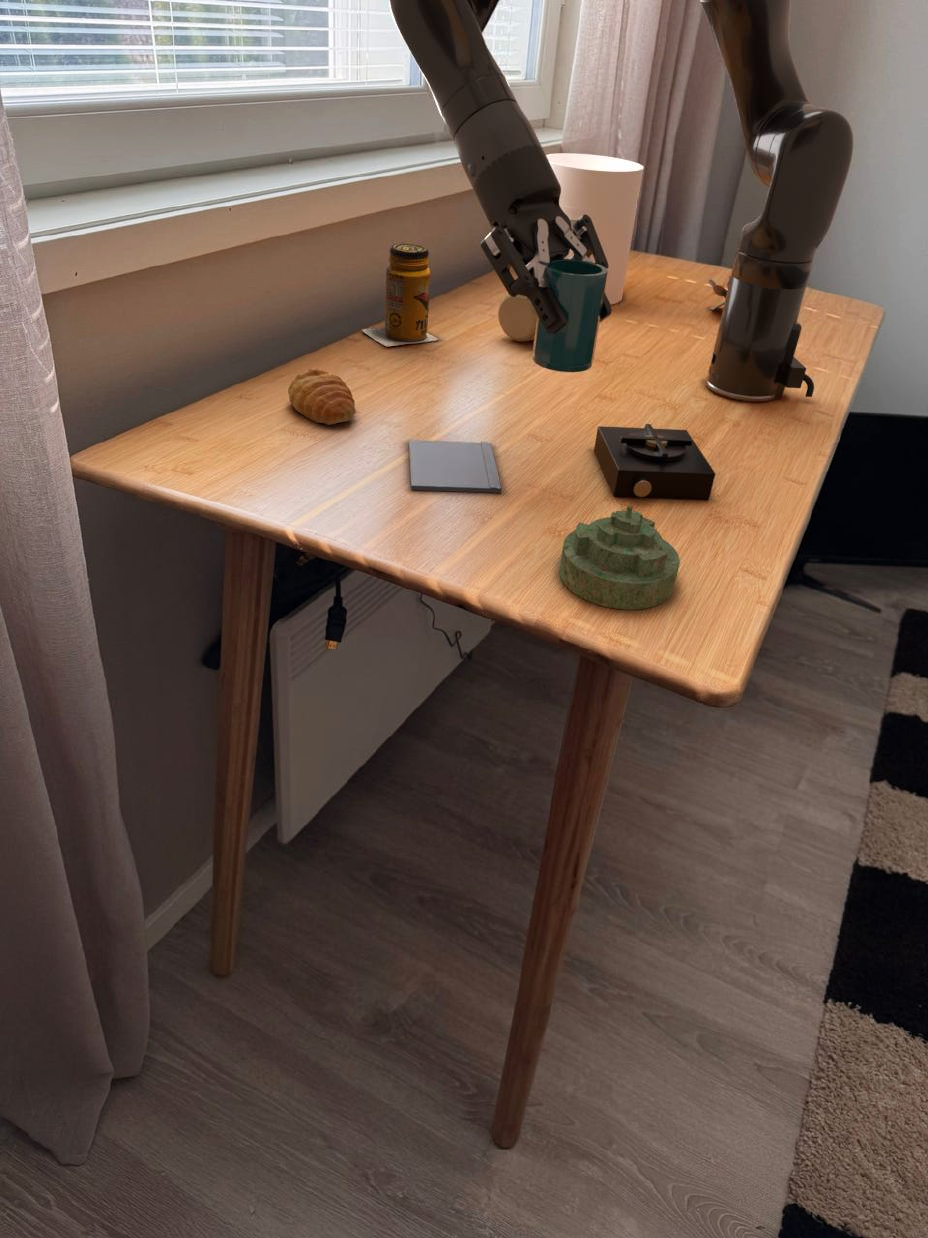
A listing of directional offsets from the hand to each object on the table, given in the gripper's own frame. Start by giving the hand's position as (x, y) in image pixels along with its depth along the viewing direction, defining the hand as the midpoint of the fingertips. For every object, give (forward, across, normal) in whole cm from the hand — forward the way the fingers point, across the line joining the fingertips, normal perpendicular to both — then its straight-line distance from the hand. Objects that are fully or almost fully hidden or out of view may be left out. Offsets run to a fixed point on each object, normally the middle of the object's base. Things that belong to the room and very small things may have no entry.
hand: (581, 323), depth 89 cm
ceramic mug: (-11, +31, +33) cm, 46 cm away
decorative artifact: (+24, -12, -1) cm, 27 cm away
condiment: (-19, +14, +41) cm, 47 cm away
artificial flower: (-2, +63, +24) cm, 67 cm away
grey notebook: (+6, -9, +16) cm, 19 cm away
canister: (-20, +55, +43) cm, 73 cm away
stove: (+16, +7, +6) cm, 18 cm away
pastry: (-8, -11, +30) cm, 33 cm away
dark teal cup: (+2, 0, +4) cm, 5 cm away
